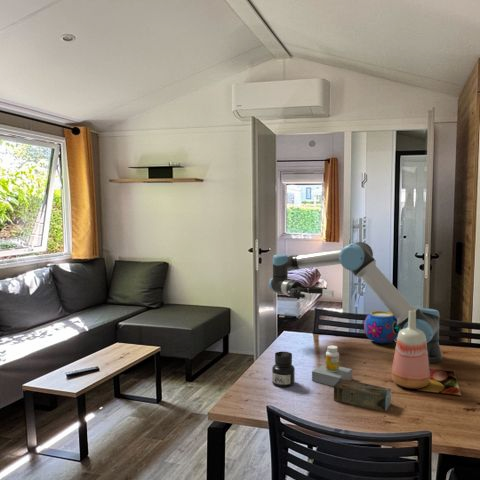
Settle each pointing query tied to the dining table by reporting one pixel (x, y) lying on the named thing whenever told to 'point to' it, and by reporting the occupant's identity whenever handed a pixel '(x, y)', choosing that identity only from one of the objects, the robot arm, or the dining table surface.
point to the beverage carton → (362, 394)
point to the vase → (411, 357)
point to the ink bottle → (283, 370)
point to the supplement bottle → (332, 359)
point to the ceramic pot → (381, 327)
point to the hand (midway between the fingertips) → (321, 295)
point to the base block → (330, 375)
